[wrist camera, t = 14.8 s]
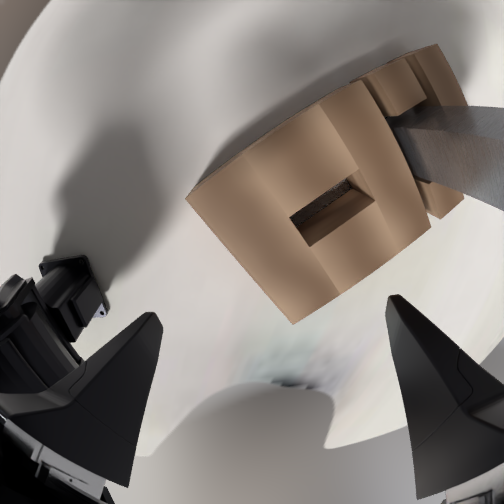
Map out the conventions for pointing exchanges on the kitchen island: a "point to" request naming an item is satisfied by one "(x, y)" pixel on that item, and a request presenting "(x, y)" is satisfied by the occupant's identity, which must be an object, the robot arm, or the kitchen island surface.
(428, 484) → the robot arm
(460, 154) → the square bit
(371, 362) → the kitchen island surface
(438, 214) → the socket block
